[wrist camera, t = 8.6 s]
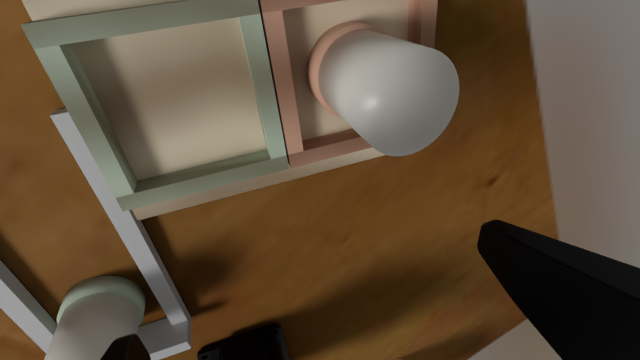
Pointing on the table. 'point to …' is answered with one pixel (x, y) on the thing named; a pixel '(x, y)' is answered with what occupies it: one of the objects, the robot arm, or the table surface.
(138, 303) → the sage-banded sleeve
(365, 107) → the terracotta-banded sleeve
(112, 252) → the table surface
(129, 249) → the feeder lane
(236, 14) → the board
